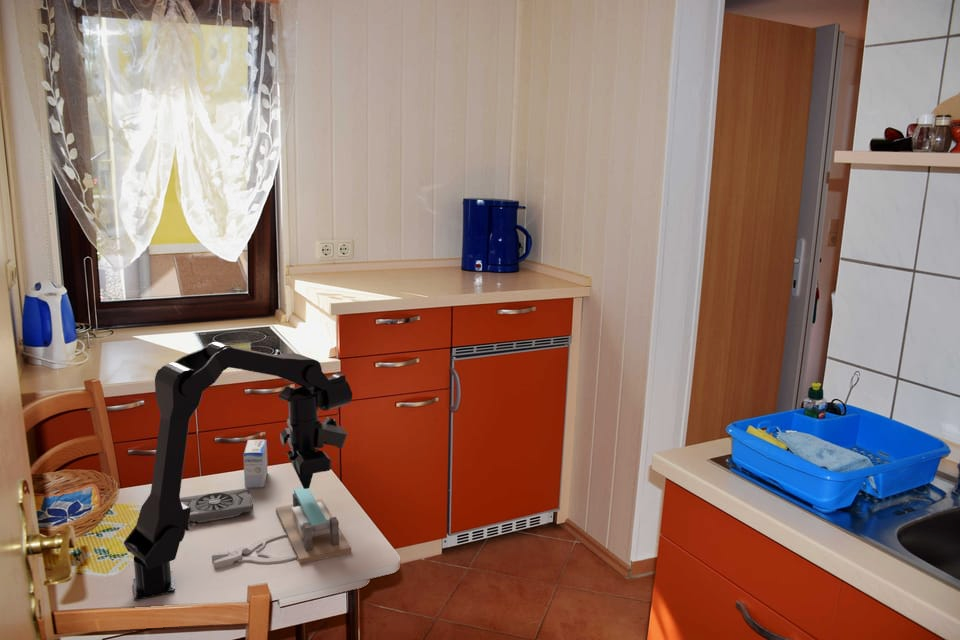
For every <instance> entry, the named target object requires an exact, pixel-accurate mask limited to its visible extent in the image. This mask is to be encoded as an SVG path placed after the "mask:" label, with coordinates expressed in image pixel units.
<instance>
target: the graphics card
mask: <svg viewBox="0 0 960 640" xmlns="http://www.w3.org/2000/svg"><path fill="white" fill-rule="evenodd" d="M249 490H250V488H245V487H244V488H239V489H231V490H223V491H217V492H211V493H206V494H205V493H204V494H197V495H189V496H185V497H184V496H183V497H180V501H181V502H182V503H184V504H185V505H187V506H188V507H190V516H189V519H188V527H190V526H197V523H205V522H209V521H210V522H211V521H216V520H221V519H222V518H223V519H228V517H229V518H233V517H234V516H235V517H238V516H240V515H241V514H242V513H247V512H252V511H253V510H254V503H253V502H252V501H253V498H252V496H251V495H250V491H249ZM223 519H222V520H223ZM196 522H197V523H196Z"/></svg>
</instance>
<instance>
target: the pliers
mask: <svg viewBox="0 0 960 640" xmlns="http://www.w3.org/2000/svg"><path fill="white" fill-rule="evenodd" d="M284 537H287V534H286V533H285V532H283V533H279V534H278V533H277V534H275V535H270V536H267V537H264V538H262V539H259V540H257V541H254V542H253V543H251V544H250V545H248V546H247V547H244V546H240V547H237V548H235V549H234V550H232V551H229V550H226V551H220V552H214V553H211V562H213V568H214V569H219V568H222V567H227V566H230V565H231V566H232V565H233V564H234V562H238V563H243V562H247V563H248V562H249V563H255V564H267V565H268V564H277V563H278V564H279V563H284V562H290V561H292V560H296V559H297V556H296V555H295V554H294V555H288V556H281V557H274V556H271V555H269V554H268V553H267V554H266V553H259V552H260V551H262V550H263V549H264V548H265V547H266V544H267V543H269V542H271V541H274V540H278V539H280V538H284ZM257 548H258V549H257ZM253 551H255V553H257V556H255V555H252V556H243V555H248V554H250V553H252V552H253Z"/></svg>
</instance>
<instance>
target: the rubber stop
mask: <svg viewBox="0 0 960 640" xmlns="http://www.w3.org/2000/svg"><path fill="white" fill-rule="evenodd" d="M292 504H293V507H297V506H301V505H300V503H299V501H298V499H297V497H296V495H295V493H292Z"/></svg>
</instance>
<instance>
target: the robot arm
mask: <svg viewBox="0 0 960 640" xmlns="http://www.w3.org/2000/svg"><path fill="white" fill-rule="evenodd" d="M228 368H230V369H237V370H241V371H247V372H252V373H258V374H264V375H269V376H274V377H275V376H276V377H278V378H281V379H283V380H285V381H288V382H290V383H293V384H295V385H298V387H294V388H293V387H291V386H288V385H286V386H285V388H284V389H283V390H282V391H281V392H280V393H278V396H277V398H279V399H281V400H283V401H286V402H288V418H286V424H287V426H288V427H285V428H283V430H281V432H280V433H279V434H280V442H281V444H282V446H287V444H288V446H289V447H290V450H288V451H287V452H286V455H287V456H288V459H289V461H290V464H291V466H292V467H293V469H294V472H295V473H296V475H297V478H298V481H300V484H301V487H302V488H304V489H308V488H309V489H310V487H311V483H312V479H313V477H314V476H313V475H314V474H317V473H324V472H329V471H330V470H332V460H331V457H329V455H328V454H327V453H326V452H325V451H324V450H320V449H322V448H324V445H326V446H332V447H337V449H343V448H344V444H345V442H346V439H347V436H348V432H347V431H346V430H345V429H344V427H342V426H341V425H339V424H337V421H336V419H335V418H334V417H330V416H327V417H326V418H325V419H324V420H323V421H320V420H319V410H321V411H323V412H326V411H330V410H333V409H336V408H340V407H344V406H346V405H349V404H350V403H351V402H352V400H353V391H352V389H351V385H350V384H349V382H348V381H347V379H346V374H343V373H340V372H338V373H334V374H333V375H330V376H326V374H324V372H323V370H322V366H321V362H319V360H316V359H313V358H311V357H308V356H306V355H302V354H300V353H281V354H280V353H279V354H272V353H266V352H261V351H256V350H252V349H247V348H242V347H237V346H234V345H227V344H226V343H222V342H220V341H213V342H210V343H209V344H207V345H205V346H204V347H202V348H200V349H198V350H196V351H193V352H191V353H189V354H186V355H185V354H184V355H183V356H181V357H180V358H178V359H177V360H175V361H174V362H168V363H166V364H164V365H163V366H161V368H160V369H157V371H156V373H155V375H154V376H155V377H154V389H155V391H154V392H155V399H156V400H155V401H156V403H157V406H158V410H159V413H160V419H159V425H158V435H157V441H156V442H157V443H156V450H155V456H154V457H155V458H154V464H153V472H152V473H153V474H152V481H151V488H150V494H149V496H148V497H147V498H146V499H145V501H144V503H143V504H142V505H141V508H140V511H139V513H138V514H139V515H138V518H137V520H136V525H135V526H134V528H133V529H132V530H131V531H130V533H129V534H128V535H127V537H126V538H125V540H124V541H123V546H124V547H125V549H126V551H127V552H128V553H130V554H132V555H133V568H134V576H135V577H134V578H133V579H132V583H133V598H134V600H136V601H138V600H142V599H148V598H150V597H156V596H161V595H165V594H169V593H173V592H175V591H176V586H175V581H174V580H175V579H174V574H173V570H171V562H172V561H174V560H176V558H177V554H178V550H179V546H180V543H181V542H183V539H184V537H185V534H186V531H187V532H188V531H189V530H190V528H189V527H190V526H188V524H189V523H188V519H189V516H190V507H188V506H187V505H185V504H184V503H182V502H181V501H180V498H181V495H180V494H181V488H182V480H183V473H184V465H185V458H186V457H185V456H186V449H187V442H188V434H189V427H190V419H191V418H192V416H193V414H194V413H195V412H196V410H197V409H198V407H199V406H200V403H201V400H202V396H203V394H204V391H205V390H206V389H208V388H209V387H211V386H212V385H214V383H216V381H217V380H218V379H219V378H220V376H221V375H222V373H223V372H224V371H225V370H227V369H228Z"/></svg>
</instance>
